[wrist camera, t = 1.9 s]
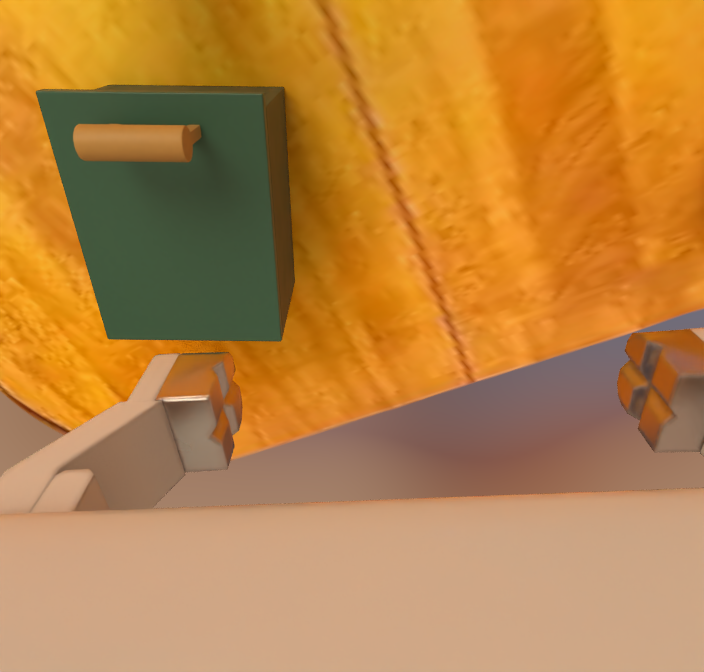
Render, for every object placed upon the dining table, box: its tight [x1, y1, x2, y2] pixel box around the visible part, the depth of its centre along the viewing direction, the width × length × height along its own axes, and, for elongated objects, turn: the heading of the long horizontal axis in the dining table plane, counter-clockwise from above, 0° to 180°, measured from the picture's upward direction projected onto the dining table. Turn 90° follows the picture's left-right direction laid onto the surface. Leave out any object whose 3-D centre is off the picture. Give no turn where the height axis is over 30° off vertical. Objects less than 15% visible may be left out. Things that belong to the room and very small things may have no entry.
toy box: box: [95, 85, 295, 333], centre depth 37 cm, size 16×13×9 cm
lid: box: [36, 89, 283, 341], centre depth 31 cm, size 16×13×5 cm
